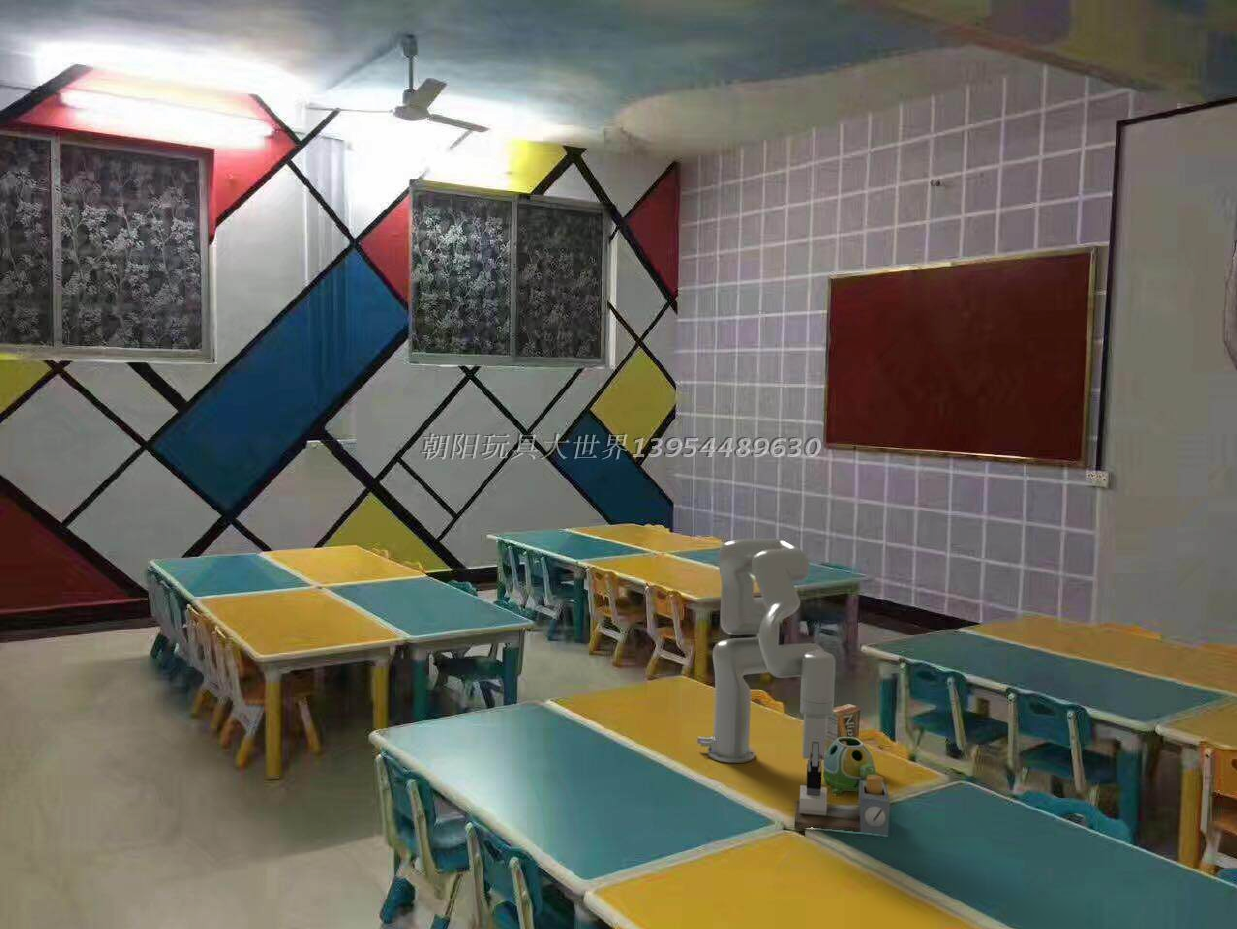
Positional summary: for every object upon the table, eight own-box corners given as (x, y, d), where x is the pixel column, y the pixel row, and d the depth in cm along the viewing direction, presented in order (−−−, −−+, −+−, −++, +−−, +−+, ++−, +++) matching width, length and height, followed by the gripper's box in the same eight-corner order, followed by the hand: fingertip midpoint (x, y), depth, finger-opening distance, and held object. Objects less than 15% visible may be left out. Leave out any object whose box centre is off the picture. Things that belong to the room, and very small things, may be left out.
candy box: (845, 759, 278) (847, 703, 277) (858, 764, 275) (860, 707, 274) (824, 766, 272) (826, 709, 271) (837, 771, 269) (839, 713, 268)
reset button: (866, 797, 234) (867, 779, 234) (865, 791, 238) (866, 774, 237) (882, 798, 234) (883, 781, 233) (881, 792, 237) (882, 775, 237)
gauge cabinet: (860, 835, 230) (862, 800, 230) (858, 813, 243) (859, 779, 242) (888, 838, 229) (889, 803, 229) (884, 815, 241) (886, 782, 241)
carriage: (799, 815, 235) (801, 767, 234) (799, 802, 243) (801, 755, 242) (826, 818, 234) (828, 770, 233) (825, 804, 242) (827, 758, 241)
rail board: (794, 827, 233) (794, 812, 233) (795, 806, 245) (795, 792, 245) (860, 834, 231) (861, 819, 231) (858, 813, 243) (858, 798, 242)
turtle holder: (846, 808, 245) (848, 759, 244) (813, 779, 263) (815, 733, 262) (893, 804, 248) (895, 755, 248) (858, 776, 266) (860, 730, 265)
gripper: (800, 694, 245) (797, 770, 247) (799, 716, 229) (796, 797, 231) (832, 697, 244) (829, 773, 245) (834, 718, 228) (831, 800, 229)
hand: (813, 784), depth 238 cm, fingers closed on carriage, 3 cm apart
